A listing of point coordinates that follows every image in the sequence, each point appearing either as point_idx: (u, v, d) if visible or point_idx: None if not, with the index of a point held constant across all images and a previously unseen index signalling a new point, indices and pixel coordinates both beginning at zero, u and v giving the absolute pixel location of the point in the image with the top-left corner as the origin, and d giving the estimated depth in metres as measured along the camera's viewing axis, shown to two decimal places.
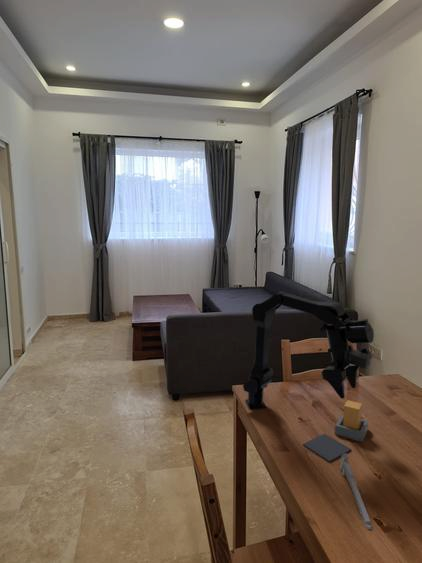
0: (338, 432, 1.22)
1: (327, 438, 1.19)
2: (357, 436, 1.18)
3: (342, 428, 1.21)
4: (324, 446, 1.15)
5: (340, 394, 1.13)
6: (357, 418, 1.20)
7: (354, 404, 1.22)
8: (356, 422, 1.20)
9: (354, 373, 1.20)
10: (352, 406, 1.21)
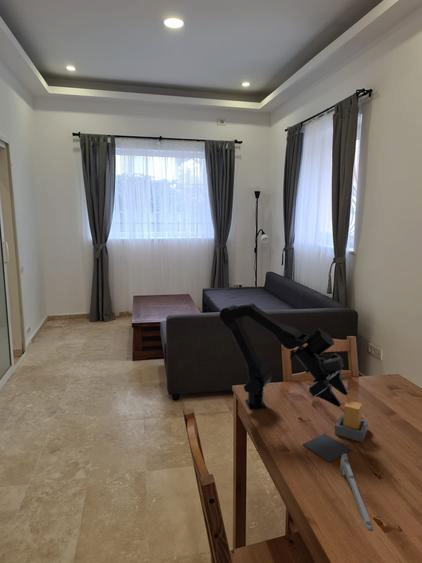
0: (338, 432, 1.22)
1: (327, 438, 1.19)
2: (357, 436, 1.18)
3: (342, 428, 1.21)
4: (324, 446, 1.15)
5: (335, 403, 1.20)
6: (357, 418, 1.20)
7: (354, 405, 1.22)
8: (356, 422, 1.20)
9: (340, 381, 1.28)
10: (352, 406, 1.21)
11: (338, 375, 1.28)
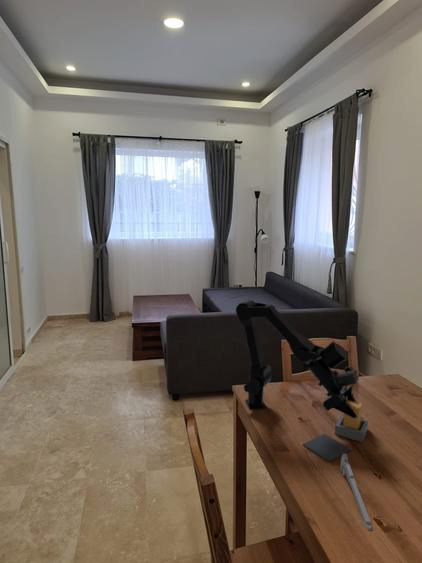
0: (338, 432, 1.22)
1: (327, 438, 1.19)
2: (357, 436, 1.18)
3: (342, 428, 1.21)
4: (324, 446, 1.15)
5: (351, 414, 1.20)
6: (357, 418, 1.20)
7: (354, 404, 1.22)
8: (356, 422, 1.20)
9: (352, 397, 1.25)
10: (352, 406, 1.21)
11: (350, 391, 1.25)
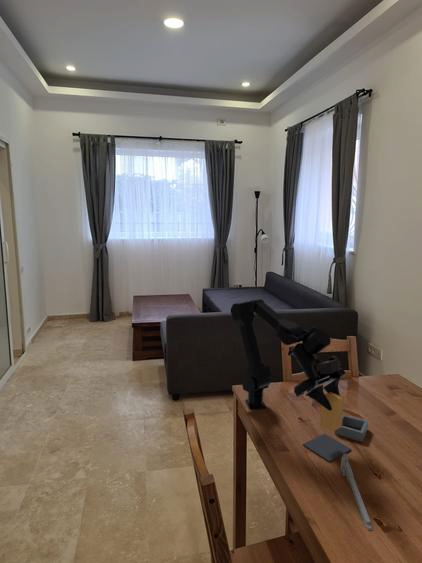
0: (338, 432, 1.22)
1: (327, 438, 1.19)
2: (357, 436, 1.18)
3: (342, 428, 1.21)
4: (324, 446, 1.15)
5: (326, 406, 1.11)
6: (333, 411, 1.11)
7: (334, 397, 1.13)
8: (332, 415, 1.11)
9: (335, 389, 1.15)
10: (329, 398, 1.12)
11: (334, 382, 1.15)
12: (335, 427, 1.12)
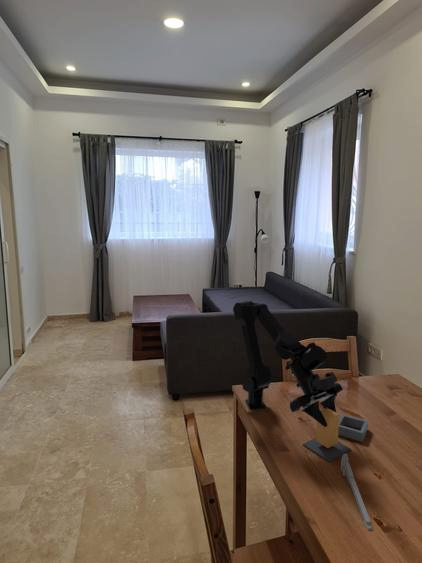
0: (338, 432, 1.22)
1: None
2: (357, 436, 1.18)
3: (342, 428, 1.21)
4: (324, 446, 1.15)
5: (322, 422, 1.12)
6: (328, 428, 1.11)
7: (330, 413, 1.13)
8: (327, 432, 1.11)
9: (331, 405, 1.15)
10: (325, 414, 1.12)
11: (330, 398, 1.16)
12: (331, 443, 1.12)
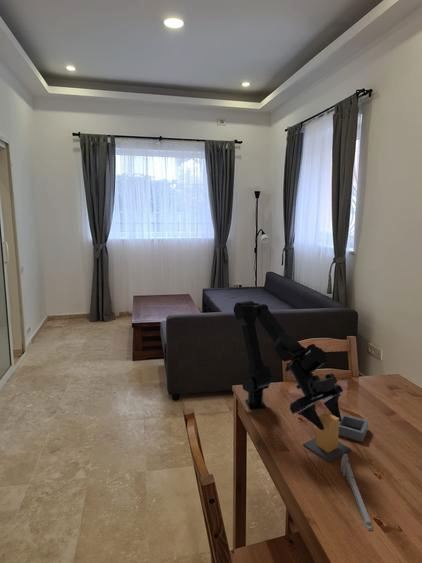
0: None
1: None
2: (357, 436, 1.18)
3: (342, 428, 1.21)
4: None
5: (318, 425, 1.11)
6: (328, 432, 1.11)
7: (329, 418, 1.13)
8: (327, 436, 1.11)
9: (335, 405, 1.16)
10: (325, 418, 1.13)
11: (333, 398, 1.16)
12: (331, 448, 1.12)
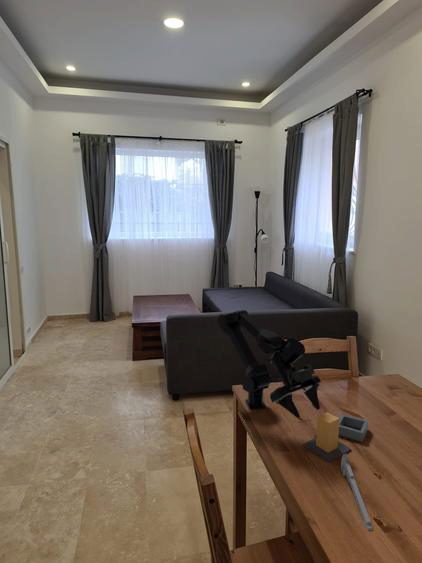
0: None
1: None
2: (357, 436, 1.18)
3: (342, 428, 1.21)
4: None
5: (295, 414, 1.18)
6: (328, 432, 1.11)
7: (329, 418, 1.13)
8: (327, 436, 1.11)
9: (314, 394, 1.24)
10: (325, 418, 1.13)
11: (313, 388, 1.24)
12: (331, 448, 1.12)
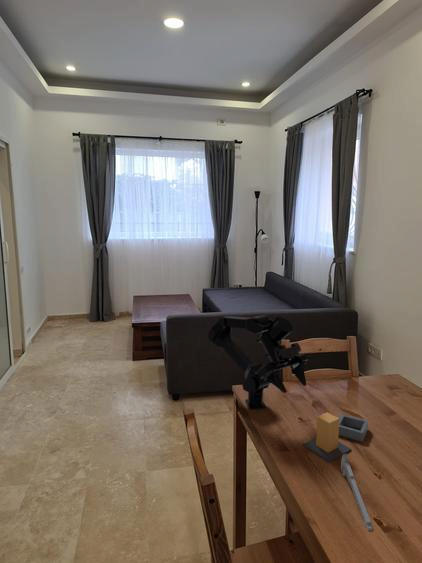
0: None
1: None
2: (357, 436, 1.18)
3: (342, 428, 1.21)
4: None
5: (281, 389, 1.22)
6: (328, 432, 1.11)
7: (329, 418, 1.13)
8: (327, 436, 1.11)
9: (301, 371, 1.28)
10: (325, 418, 1.13)
11: (300, 365, 1.29)
12: (331, 448, 1.12)
